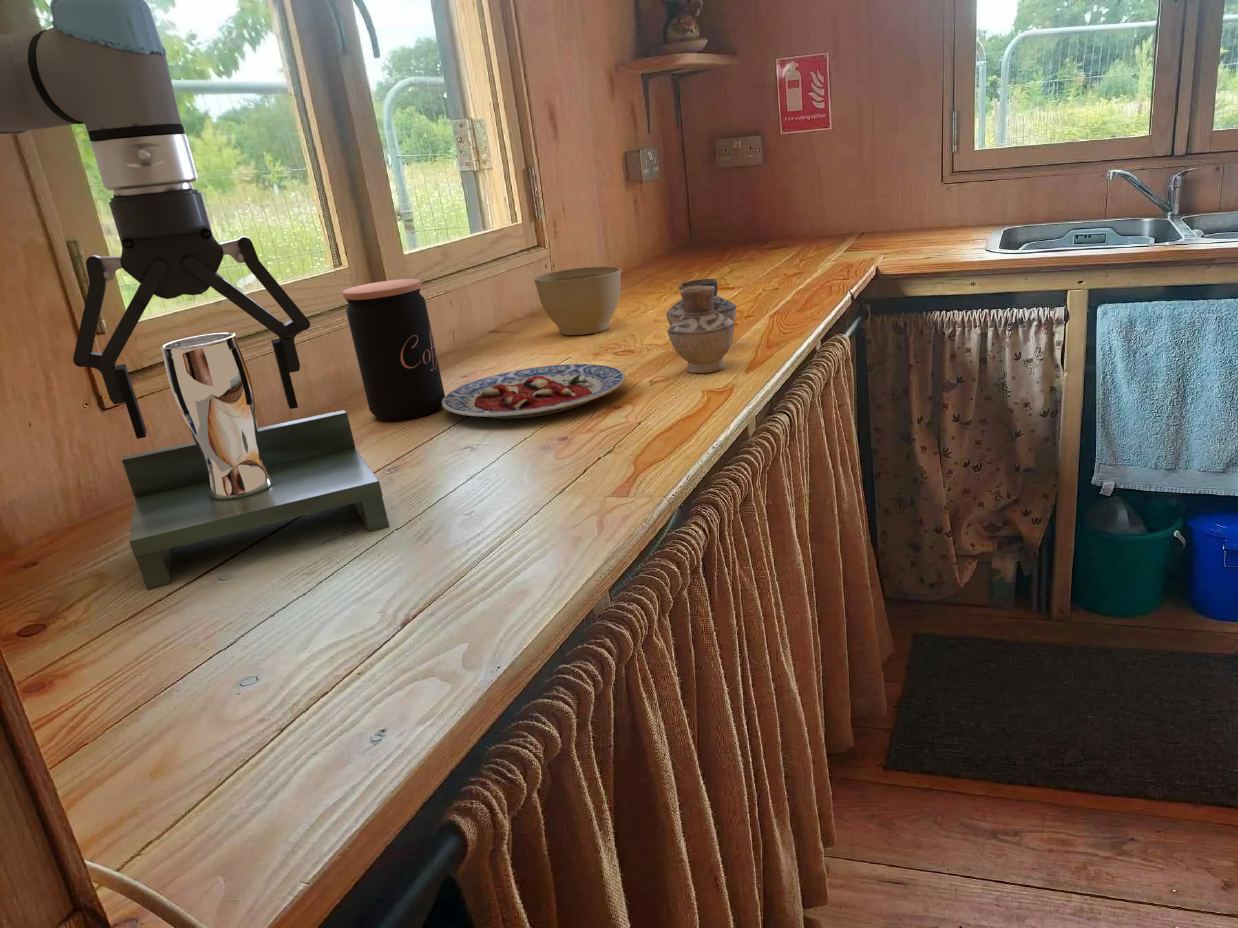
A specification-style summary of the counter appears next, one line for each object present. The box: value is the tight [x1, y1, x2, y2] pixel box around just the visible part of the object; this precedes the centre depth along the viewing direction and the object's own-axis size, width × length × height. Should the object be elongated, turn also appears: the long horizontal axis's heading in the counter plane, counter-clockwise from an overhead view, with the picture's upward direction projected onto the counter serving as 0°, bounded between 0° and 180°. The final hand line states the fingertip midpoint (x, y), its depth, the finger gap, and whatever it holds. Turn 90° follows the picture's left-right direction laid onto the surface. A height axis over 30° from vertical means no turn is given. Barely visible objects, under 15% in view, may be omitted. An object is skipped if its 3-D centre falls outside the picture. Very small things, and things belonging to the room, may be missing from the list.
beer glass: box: [160, 332, 274, 500], centre depth 94 cm, size 7×7×15 cm
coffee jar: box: [341, 278, 446, 422], centre depth 137 cm, size 11×11×18 cm
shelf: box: [121, 409, 390, 590], centre depth 97 cm, size 16×22×9 cm
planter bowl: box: [533, 265, 622, 336], centre depth 182 cm, size 16×16×11 cm
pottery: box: [666, 278, 737, 374], centre depth 149 cm, size 11×25×12 cm, turn 0°
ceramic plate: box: [442, 363, 626, 420], centre depth 137 cm, size 26×26×3 cm
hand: (219, 420), depth 94 cm, fingers open, 13 cm apart
